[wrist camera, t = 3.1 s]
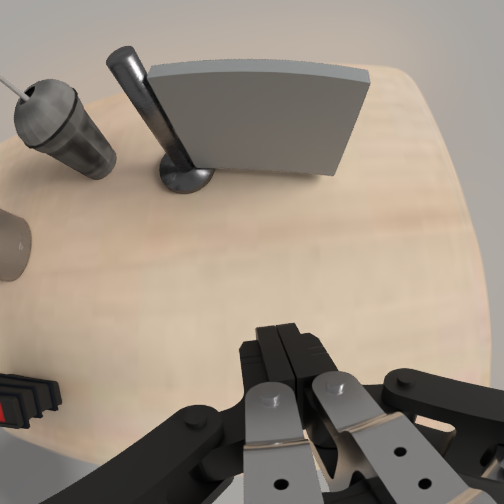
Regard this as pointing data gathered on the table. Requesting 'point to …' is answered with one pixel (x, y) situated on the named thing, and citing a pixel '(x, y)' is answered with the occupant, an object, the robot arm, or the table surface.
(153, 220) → the table surface
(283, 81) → the door
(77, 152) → the beverage cup
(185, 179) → the hinge post
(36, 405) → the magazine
